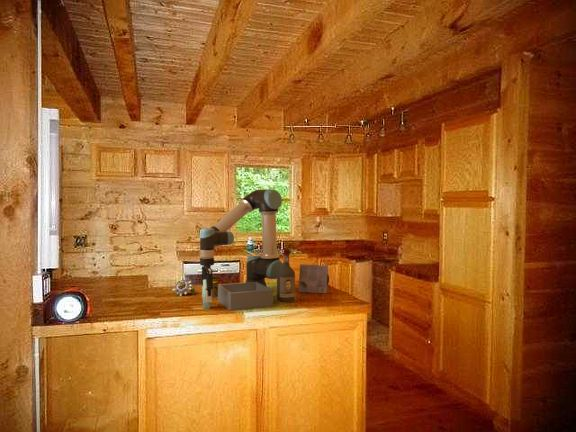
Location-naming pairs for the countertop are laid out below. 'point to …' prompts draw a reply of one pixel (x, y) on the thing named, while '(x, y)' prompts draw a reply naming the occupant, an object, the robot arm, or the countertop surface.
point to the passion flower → (183, 287)
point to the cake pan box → (313, 278)
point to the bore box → (245, 296)
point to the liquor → (286, 280)
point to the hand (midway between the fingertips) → (206, 299)
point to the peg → (205, 304)
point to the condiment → (215, 287)
